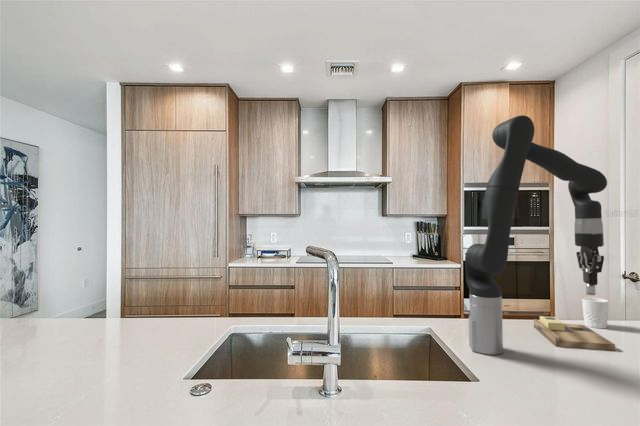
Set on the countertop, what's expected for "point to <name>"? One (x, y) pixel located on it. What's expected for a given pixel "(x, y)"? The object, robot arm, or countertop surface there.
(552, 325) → the stud finder
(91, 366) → the countertop surface
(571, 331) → the board
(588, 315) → the white cup
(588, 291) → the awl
